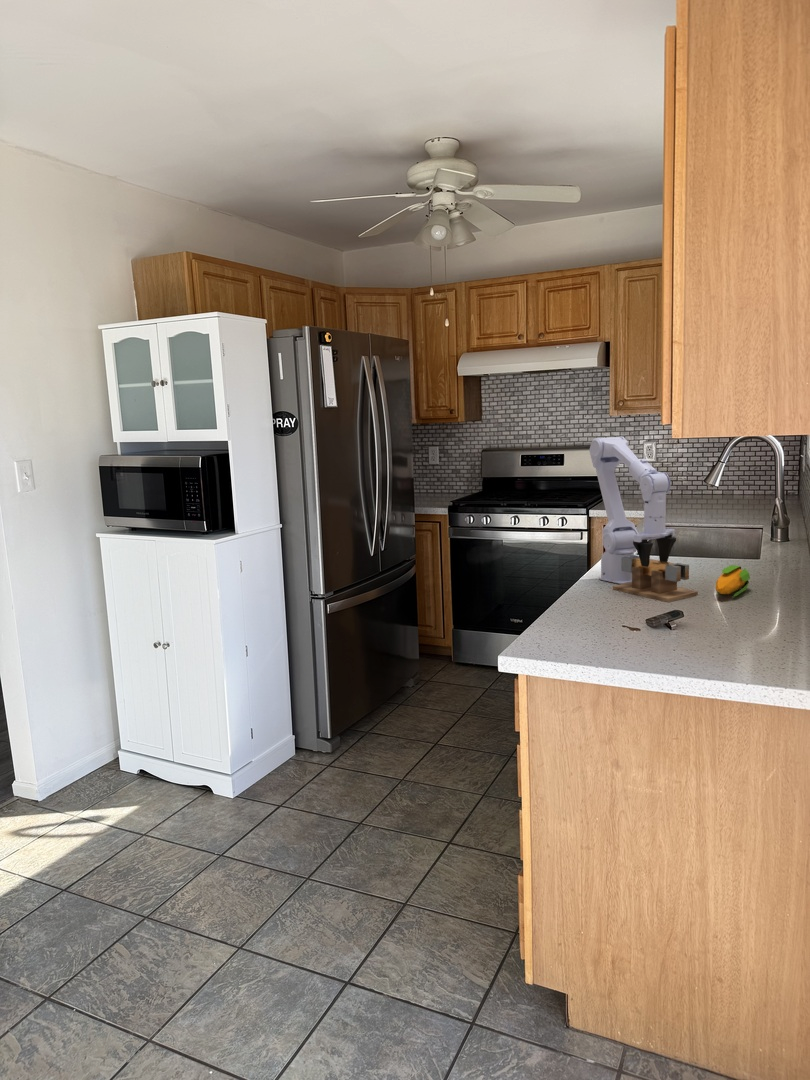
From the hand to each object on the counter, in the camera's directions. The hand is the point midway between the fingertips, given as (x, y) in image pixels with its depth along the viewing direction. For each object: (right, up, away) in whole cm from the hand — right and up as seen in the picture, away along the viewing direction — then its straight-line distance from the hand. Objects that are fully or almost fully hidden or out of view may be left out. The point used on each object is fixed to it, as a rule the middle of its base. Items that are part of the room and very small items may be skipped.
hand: (654, 564), depth 215 cm
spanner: (0, -3, +1) cm, 3 cm away
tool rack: (0, -8, +1) cm, 8 cm away
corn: (+20, -8, -5) cm, 22 cm away
